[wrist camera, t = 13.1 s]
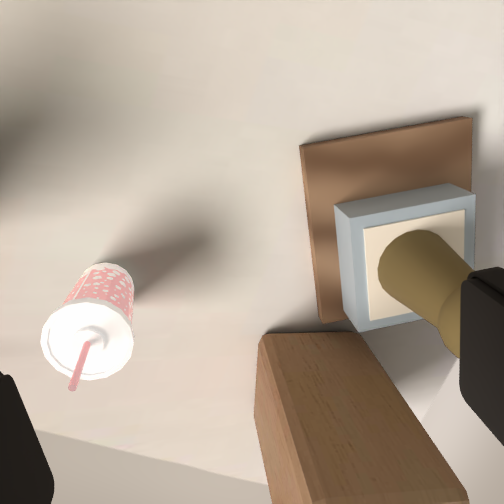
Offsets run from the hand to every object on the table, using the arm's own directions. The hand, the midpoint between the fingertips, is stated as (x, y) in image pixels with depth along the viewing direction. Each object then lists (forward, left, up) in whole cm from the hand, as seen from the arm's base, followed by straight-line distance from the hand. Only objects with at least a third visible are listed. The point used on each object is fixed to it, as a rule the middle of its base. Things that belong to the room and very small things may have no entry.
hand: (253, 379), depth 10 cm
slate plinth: (+11, +15, -29) cm, 34 cm away
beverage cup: (+10, -10, -31) cm, 34 cm away
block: (+23, +6, -31) cm, 39 cm away
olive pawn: (+11, +15, -25) cm, 31 cm away
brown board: (+9, +15, -30) cm, 35 cm away
